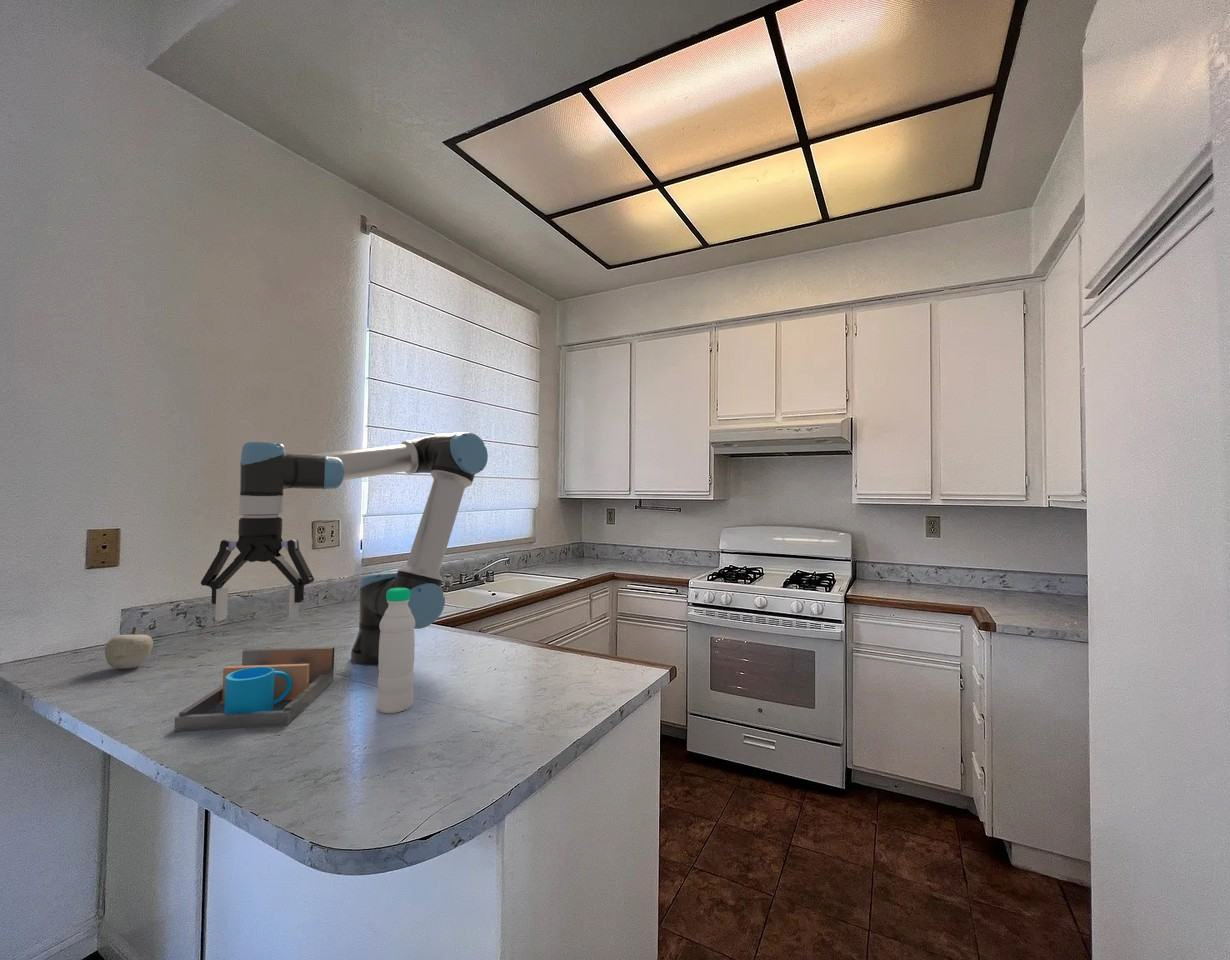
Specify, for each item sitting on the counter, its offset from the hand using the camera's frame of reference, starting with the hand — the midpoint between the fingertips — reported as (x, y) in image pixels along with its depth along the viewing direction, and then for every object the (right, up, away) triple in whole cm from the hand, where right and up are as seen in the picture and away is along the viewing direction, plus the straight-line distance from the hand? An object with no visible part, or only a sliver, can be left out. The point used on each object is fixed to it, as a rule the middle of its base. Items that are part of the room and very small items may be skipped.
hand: (257, 619), depth 108 cm
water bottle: (+28, -19, +2) cm, 34 cm away
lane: (-1, -19, +3) cm, 19 cm away
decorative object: (-48, -19, +23) cm, 56 cm away
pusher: (-1, -18, +6) cm, 19 cm away
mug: (+1, -19, -1) cm, 19 cm away
